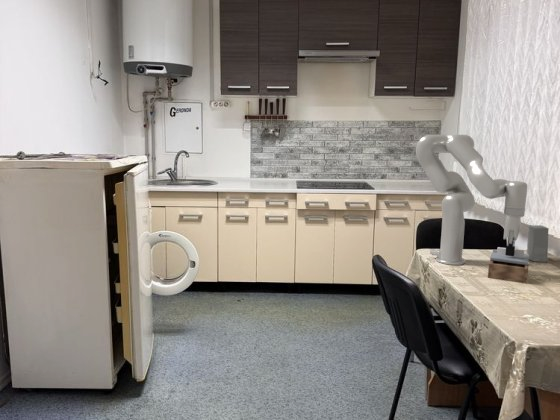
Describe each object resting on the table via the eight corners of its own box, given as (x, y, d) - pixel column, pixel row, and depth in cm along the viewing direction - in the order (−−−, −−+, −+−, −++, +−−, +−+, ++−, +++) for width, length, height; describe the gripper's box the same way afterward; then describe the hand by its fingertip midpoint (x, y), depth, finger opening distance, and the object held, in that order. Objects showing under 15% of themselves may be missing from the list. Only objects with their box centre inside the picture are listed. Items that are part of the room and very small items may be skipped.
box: (487, 277, 183) (489, 263, 182) (490, 268, 195) (491, 255, 194) (526, 283, 176) (528, 268, 175) (527, 274, 188) (528, 260, 187)
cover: (490, 259, 186) (491, 250, 185) (492, 252, 198) (493, 243, 198) (528, 265, 179) (529, 255, 179) (529, 256, 191) (530, 247, 191)
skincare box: (547, 262, 205) (551, 228, 203) (530, 261, 207) (533, 227, 204) (540, 257, 213) (544, 224, 211) (524, 256, 215) (527, 224, 212)
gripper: (505, 208, 191) (501, 250, 194) (502, 213, 178) (498, 258, 182) (525, 210, 188) (520, 252, 191) (523, 215, 175) (519, 261, 178)
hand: (509, 255), depth 186 cm, fingers closed
